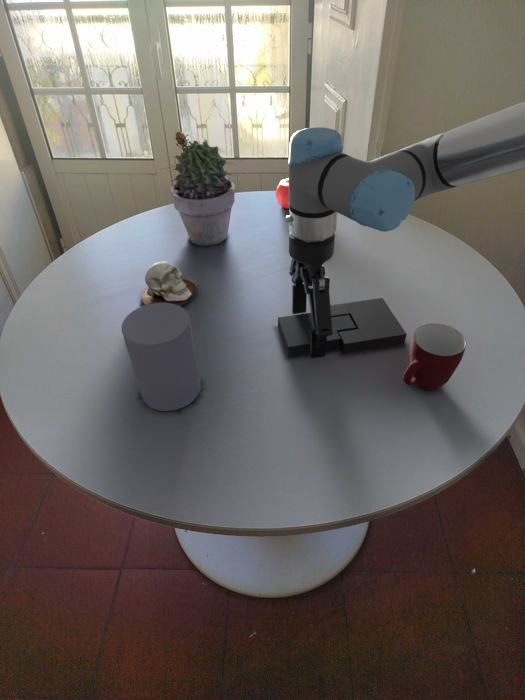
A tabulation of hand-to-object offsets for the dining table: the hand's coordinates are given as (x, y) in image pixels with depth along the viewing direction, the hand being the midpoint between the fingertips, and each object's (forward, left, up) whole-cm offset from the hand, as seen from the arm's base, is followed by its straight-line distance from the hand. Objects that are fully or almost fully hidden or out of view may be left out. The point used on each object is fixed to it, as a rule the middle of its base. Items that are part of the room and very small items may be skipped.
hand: (307, 333), depth 90 cm
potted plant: (+45, +14, -1) cm, 47 cm away
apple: (+58, -10, -1) cm, 59 cm away
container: (-8, +27, -1) cm, 28 cm away
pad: (0, -2, -1) cm, 2 cm away
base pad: (0, -11, -1) cm, 11 cm away
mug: (-17, -16, -1) cm, 23 cm away
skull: (+21, +26, -1) cm, 33 cm away
